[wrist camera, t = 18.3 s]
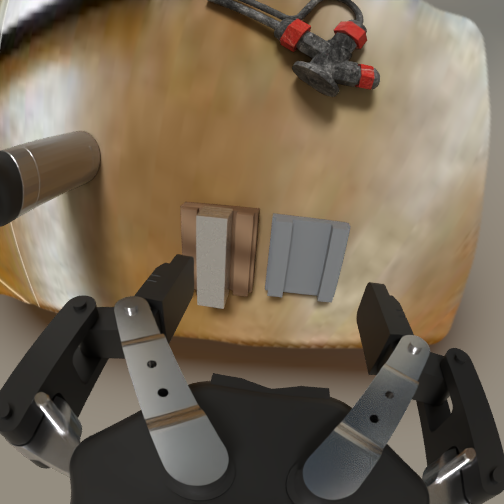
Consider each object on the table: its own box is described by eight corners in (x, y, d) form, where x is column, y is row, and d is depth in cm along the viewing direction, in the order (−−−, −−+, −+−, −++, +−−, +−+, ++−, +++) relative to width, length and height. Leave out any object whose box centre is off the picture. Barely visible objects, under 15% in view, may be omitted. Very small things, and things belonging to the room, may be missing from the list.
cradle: (253, 285, 46) (250, 297, 44) (187, 276, 47) (181, 287, 44) (259, 208, 40) (257, 216, 38) (185, 201, 41) (177, 208, 38)
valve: (400, 49, 29) (349, 119, 33) (251, -35, 26) (191, 26, 30) (418, 35, 23) (363, 111, 27) (248, -58, 20) (178, 7, 24)
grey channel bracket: (332, 291, 45) (334, 302, 43) (265, 284, 46) (264, 295, 43) (348, 222, 40) (352, 230, 37) (273, 213, 41) (272, 220, 38)
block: (228, 293, 45) (223, 308, 42) (204, 289, 45) (197, 304, 42) (233, 208, 39) (227, 218, 35) (204, 205, 39) (196, 215, 36)
